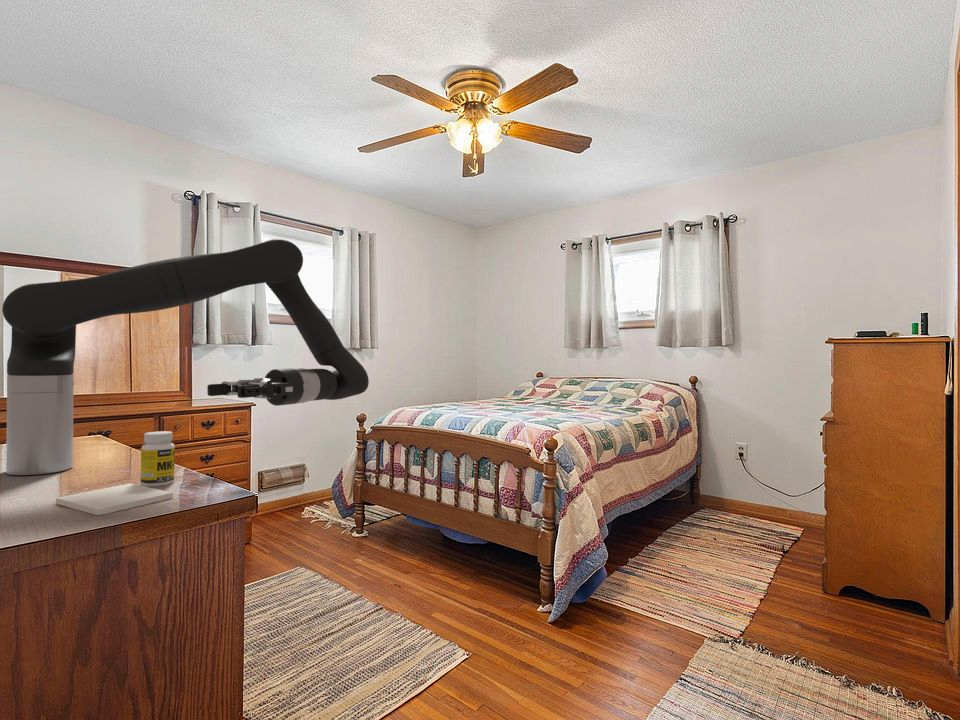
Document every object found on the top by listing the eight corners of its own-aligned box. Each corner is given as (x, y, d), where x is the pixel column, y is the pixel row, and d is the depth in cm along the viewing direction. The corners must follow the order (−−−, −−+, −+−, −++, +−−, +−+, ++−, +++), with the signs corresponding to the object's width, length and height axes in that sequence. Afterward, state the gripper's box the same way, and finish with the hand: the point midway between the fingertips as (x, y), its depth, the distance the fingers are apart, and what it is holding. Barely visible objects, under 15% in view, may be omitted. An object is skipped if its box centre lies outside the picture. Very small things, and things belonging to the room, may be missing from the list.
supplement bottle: (158, 488, 84) (158, 435, 84) (133, 486, 85) (133, 434, 85) (181, 481, 89) (181, 431, 89) (157, 479, 90) (157, 430, 90)
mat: (56, 503, 75) (56, 497, 75) (130, 488, 84) (130, 483, 84) (98, 515, 70) (98, 509, 70) (172, 498, 79) (172, 492, 79)
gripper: (269, 367, 115) (198, 370, 101) (317, 368, 108) (249, 371, 94) (269, 402, 115) (199, 409, 101) (317, 405, 108) (249, 413, 94)
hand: (223, 391), depth 97 cm, fingers open, 8 cm apart
